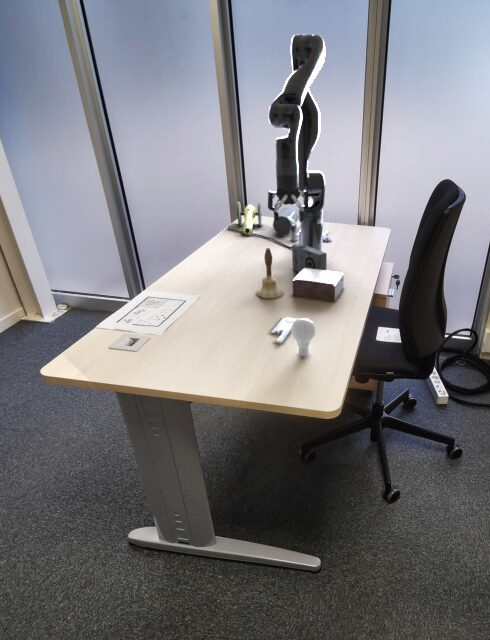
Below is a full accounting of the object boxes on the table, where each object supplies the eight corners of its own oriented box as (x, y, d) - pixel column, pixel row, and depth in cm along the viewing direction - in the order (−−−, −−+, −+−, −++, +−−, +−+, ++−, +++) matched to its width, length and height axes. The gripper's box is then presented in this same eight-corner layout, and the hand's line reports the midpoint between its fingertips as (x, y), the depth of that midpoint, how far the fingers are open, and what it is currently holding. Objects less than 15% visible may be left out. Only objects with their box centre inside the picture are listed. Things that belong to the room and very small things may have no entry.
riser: (292, 296, 154) (292, 279, 151) (303, 283, 165) (303, 266, 161) (334, 302, 152) (335, 285, 148) (343, 288, 162) (343, 272, 159)
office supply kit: (329, 244, 205) (329, 223, 200) (269, 240, 206) (268, 219, 201) (336, 222, 238) (337, 204, 233) (285, 218, 239) (284, 200, 234)
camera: (290, 268, 176) (290, 243, 171) (298, 266, 179) (297, 241, 173) (319, 280, 167) (319, 254, 162) (326, 278, 170) (327, 252, 164)
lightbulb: (292, 349, 124) (291, 313, 117) (315, 349, 124) (315, 313, 118) (291, 361, 118) (290, 324, 112) (315, 361, 119) (315, 324, 113)
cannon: (260, 235, 211) (258, 211, 205) (234, 235, 210) (232, 210, 203) (262, 222, 231) (261, 199, 225) (239, 221, 230) (237, 198, 224)
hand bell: (285, 291, 157) (284, 247, 148) (275, 300, 150) (272, 254, 141) (264, 287, 159) (262, 243, 150) (253, 296, 152) (249, 250, 143)
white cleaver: (264, 340, 127) (264, 337, 126) (282, 319, 139) (282, 316, 138) (281, 343, 126) (281, 339, 125) (297, 321, 138) (297, 318, 137)
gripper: (304, 170, 156) (305, 218, 164) (264, 171, 151) (267, 220, 160) (310, 174, 150) (310, 223, 159) (268, 174, 145) (271, 225, 154)
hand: (289, 221), depth 159 cm, fingers open, 8 cm apart
